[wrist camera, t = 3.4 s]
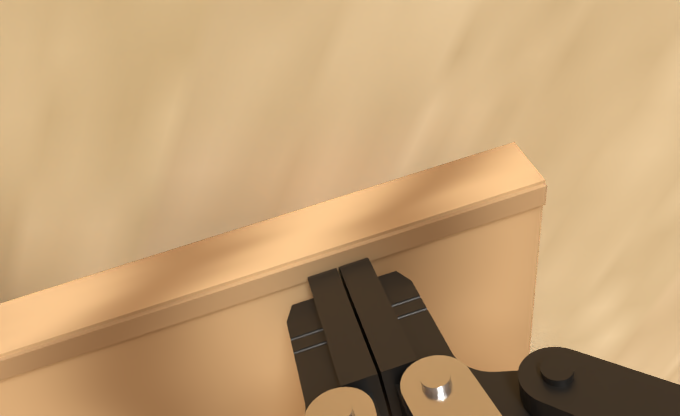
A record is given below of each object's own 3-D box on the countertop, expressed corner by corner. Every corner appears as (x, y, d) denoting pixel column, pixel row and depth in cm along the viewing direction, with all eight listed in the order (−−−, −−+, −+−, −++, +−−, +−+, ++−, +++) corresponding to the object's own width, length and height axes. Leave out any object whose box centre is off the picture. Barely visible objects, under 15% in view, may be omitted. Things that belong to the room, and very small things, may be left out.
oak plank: (514, 142, 15) (546, 182, 14) (506, 342, 21) (528, 382, 20) (-331, 407, 13) (-372, 477, 12) (-71, 538, 20) (-83, 592, 19)
